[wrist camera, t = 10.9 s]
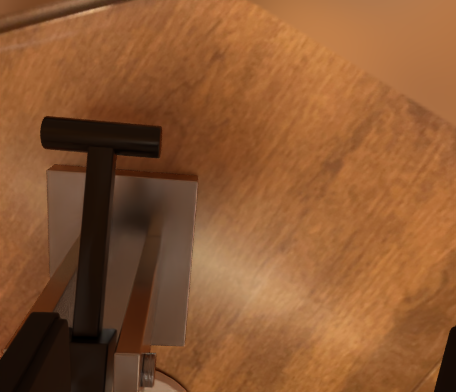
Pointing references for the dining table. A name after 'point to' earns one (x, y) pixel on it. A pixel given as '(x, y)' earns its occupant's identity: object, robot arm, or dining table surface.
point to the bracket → (127, 263)
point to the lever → (96, 234)
